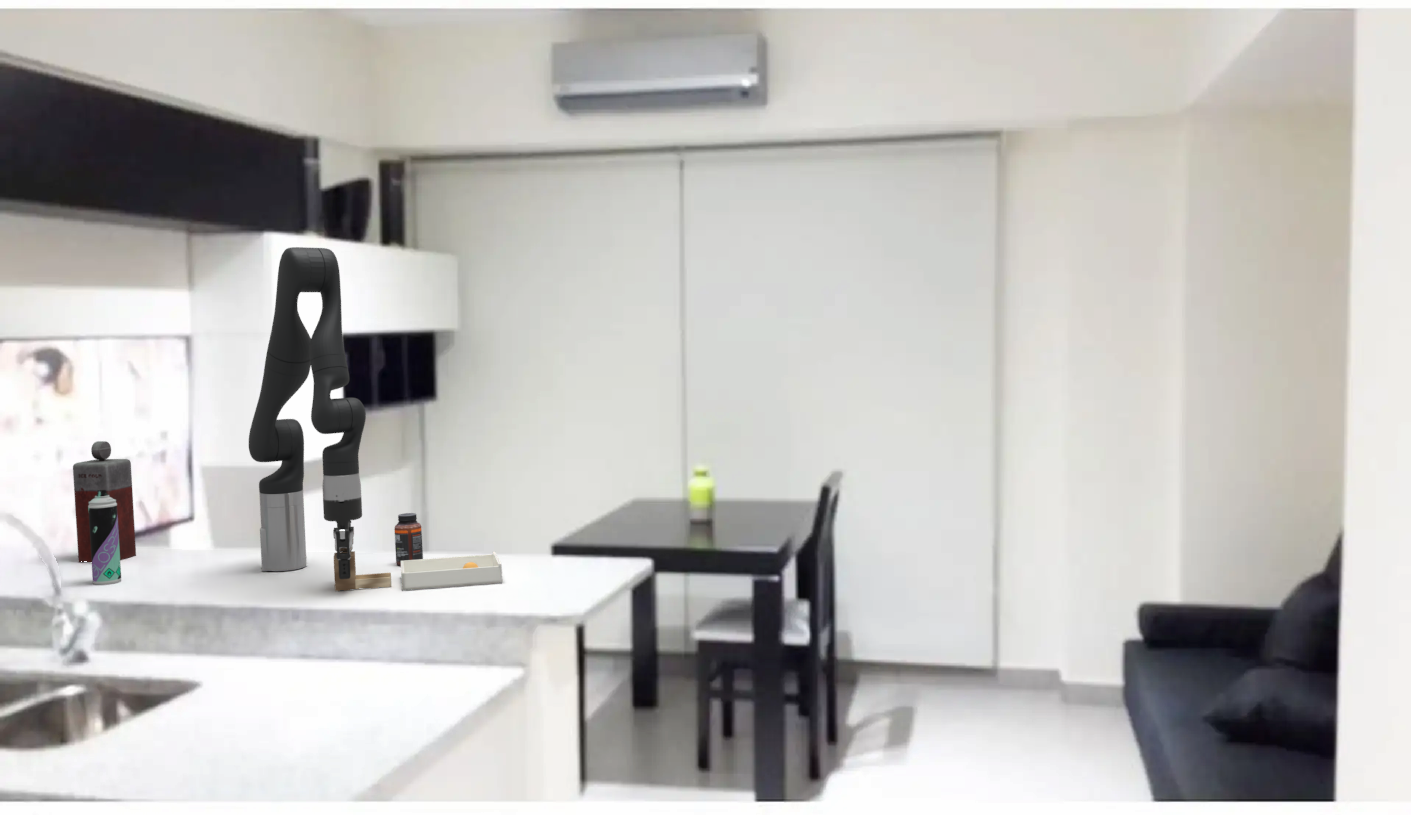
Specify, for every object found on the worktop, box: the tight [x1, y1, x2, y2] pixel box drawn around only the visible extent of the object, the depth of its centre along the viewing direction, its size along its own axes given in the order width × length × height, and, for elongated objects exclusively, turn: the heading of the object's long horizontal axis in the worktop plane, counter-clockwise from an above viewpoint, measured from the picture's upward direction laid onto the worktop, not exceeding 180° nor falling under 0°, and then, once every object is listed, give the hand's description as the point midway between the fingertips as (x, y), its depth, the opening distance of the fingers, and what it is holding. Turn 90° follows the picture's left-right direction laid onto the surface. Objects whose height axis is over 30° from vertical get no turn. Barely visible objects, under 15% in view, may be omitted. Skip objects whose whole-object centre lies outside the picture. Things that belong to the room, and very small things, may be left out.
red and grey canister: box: [72, 440, 137, 563], centre depth 283 cm, size 9×11×28 cm
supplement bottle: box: [393, 512, 424, 567], centre depth 269 cm, size 6×6×11 cm
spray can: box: [88, 490, 122, 586], centre depth 256 cm, size 6×6×20 cm
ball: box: [463, 562, 478, 569], centre depth 249 cm, size 3×3×3 cm
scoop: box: [333, 550, 392, 592], centre depth 246 cm, size 11×5×7 cm, turn 105°
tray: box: [400, 551, 503, 592], centre depth 251 cm, size 20×14×4 cm
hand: (345, 574), depth 245 cm, fingers open, 8 cm apart
